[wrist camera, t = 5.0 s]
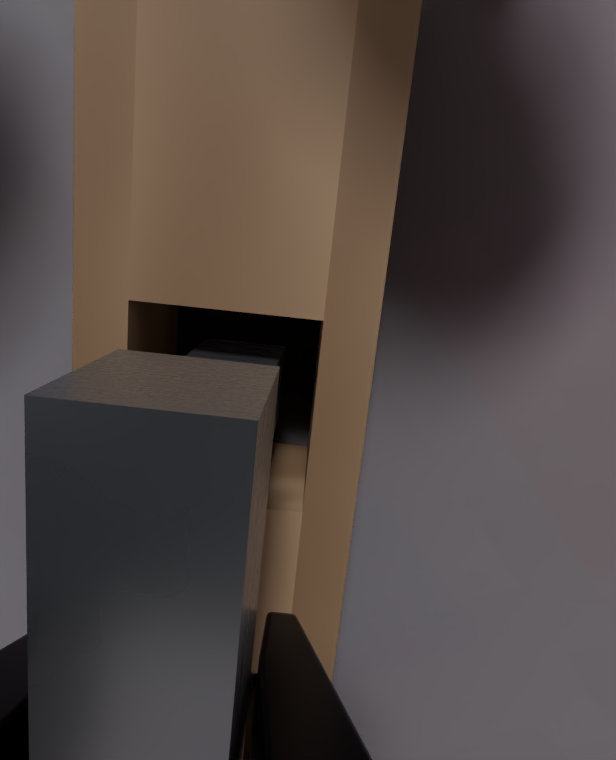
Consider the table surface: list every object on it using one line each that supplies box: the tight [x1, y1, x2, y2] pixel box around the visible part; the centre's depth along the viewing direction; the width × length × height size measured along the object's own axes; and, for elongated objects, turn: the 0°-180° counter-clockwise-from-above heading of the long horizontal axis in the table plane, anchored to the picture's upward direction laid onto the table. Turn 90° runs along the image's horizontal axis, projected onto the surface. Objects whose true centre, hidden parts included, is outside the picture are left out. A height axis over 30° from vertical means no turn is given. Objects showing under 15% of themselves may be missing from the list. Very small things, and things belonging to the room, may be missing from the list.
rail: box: [72, 0, 422, 760], centre depth 11 cm, size 4×20×3 cm, turn 174°
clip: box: [24, 338, 285, 760], centre depth 8 cm, size 2×8×6 cm, turn 174°
